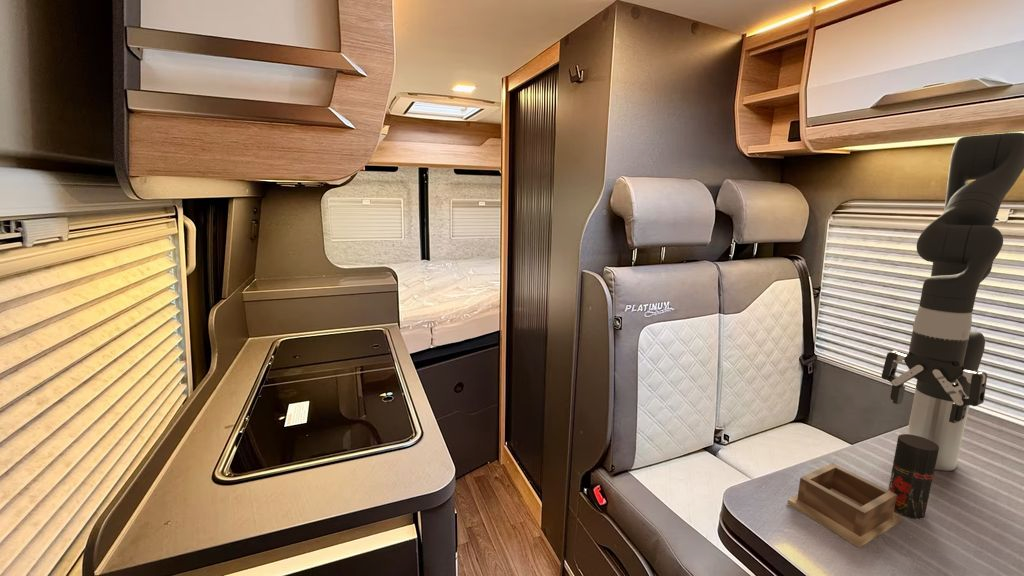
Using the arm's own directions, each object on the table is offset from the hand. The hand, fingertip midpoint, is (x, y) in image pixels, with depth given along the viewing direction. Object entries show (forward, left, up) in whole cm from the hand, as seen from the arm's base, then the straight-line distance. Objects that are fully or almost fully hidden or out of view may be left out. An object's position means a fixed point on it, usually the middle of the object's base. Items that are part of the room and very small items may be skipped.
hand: (924, 412), depth 83 cm
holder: (+12, -5, -21) cm, 25 cm away
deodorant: (0, 0, -22) cm, 22 cm away
